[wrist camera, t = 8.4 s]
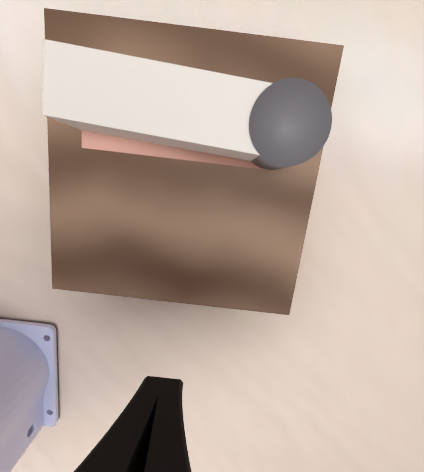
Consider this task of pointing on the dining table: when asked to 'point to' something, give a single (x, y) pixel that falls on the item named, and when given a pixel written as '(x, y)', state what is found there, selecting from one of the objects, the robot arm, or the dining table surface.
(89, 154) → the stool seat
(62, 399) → the dining table surface
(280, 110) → the white bar with cylinder
